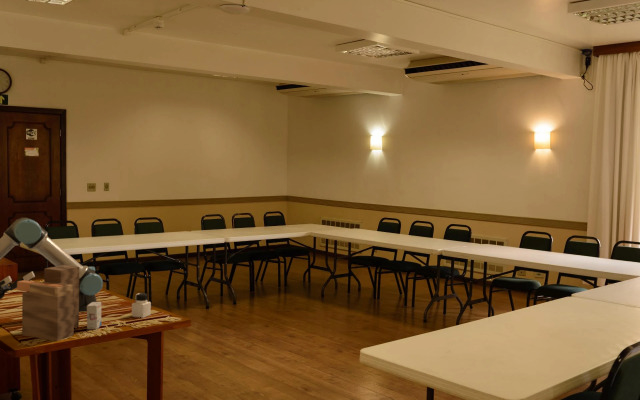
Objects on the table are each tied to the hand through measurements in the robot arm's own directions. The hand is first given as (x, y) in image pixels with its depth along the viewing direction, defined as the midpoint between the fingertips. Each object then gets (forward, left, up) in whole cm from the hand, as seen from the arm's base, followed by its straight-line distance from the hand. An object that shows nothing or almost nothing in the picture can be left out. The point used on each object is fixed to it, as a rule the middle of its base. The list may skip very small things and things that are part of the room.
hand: (22, 276), depth 290 cm
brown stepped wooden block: (-6, +16, -26) cm, 31 cm away
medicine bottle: (-50, +30, -27) cm, 64 cm away
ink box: (-21, +24, -27) cm, 42 cm away
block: (0, +11, -6) cm, 13 cm away
